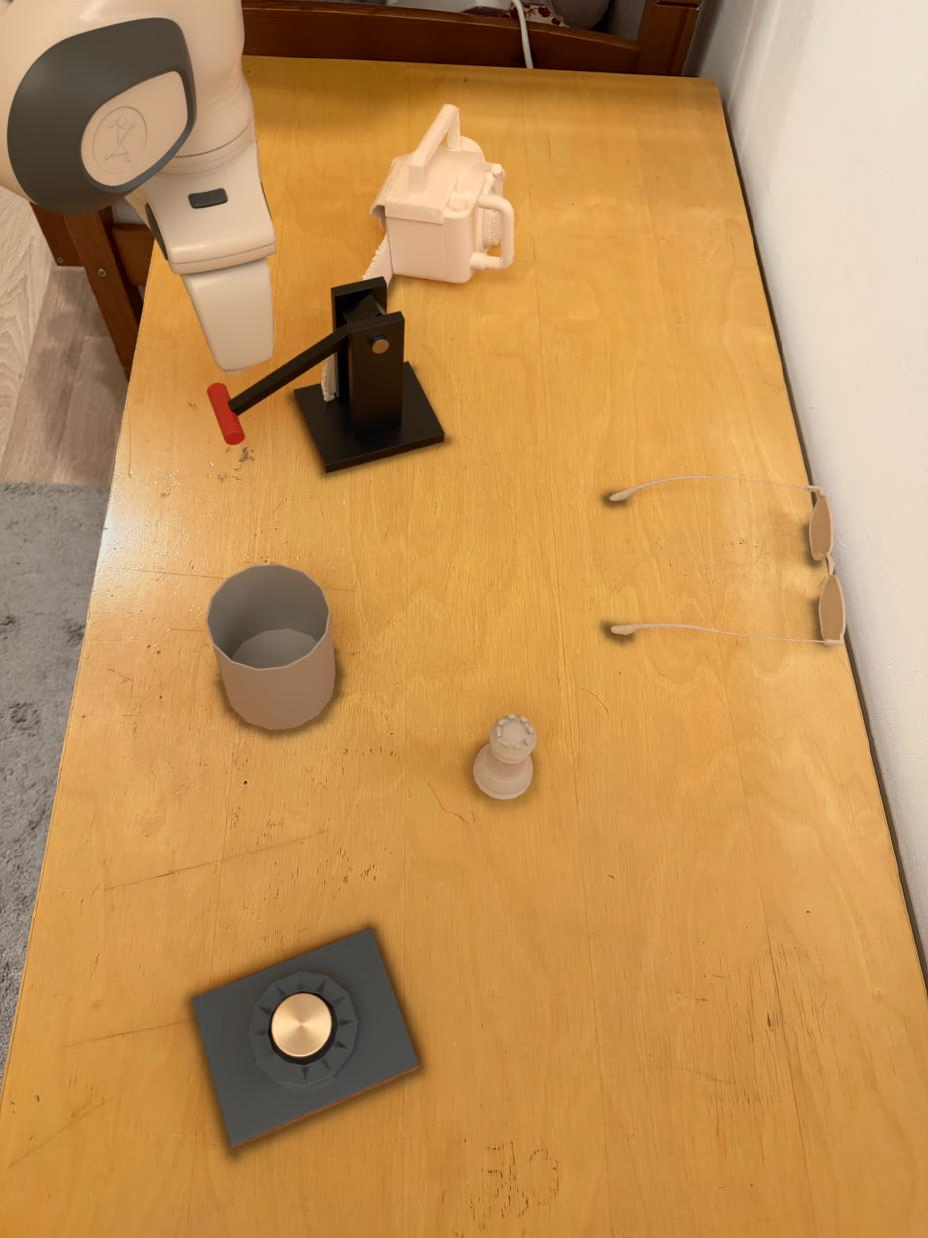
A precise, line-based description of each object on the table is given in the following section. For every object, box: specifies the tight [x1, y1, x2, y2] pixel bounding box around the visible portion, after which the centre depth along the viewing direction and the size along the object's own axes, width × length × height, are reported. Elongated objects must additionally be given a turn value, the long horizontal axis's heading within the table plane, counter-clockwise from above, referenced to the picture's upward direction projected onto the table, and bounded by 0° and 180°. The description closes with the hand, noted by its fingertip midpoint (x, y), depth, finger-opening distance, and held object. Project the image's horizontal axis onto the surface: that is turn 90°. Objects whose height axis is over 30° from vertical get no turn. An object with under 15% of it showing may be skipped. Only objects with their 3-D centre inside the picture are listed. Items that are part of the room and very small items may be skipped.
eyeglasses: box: [608, 475, 847, 647], centre depth 84 cm, size 15×18×4 cm
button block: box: [191, 927, 420, 1149], centre depth 63 cm, size 12×9×4 cm
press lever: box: [206, 293, 386, 446], centre depth 81 cm, size 16×6×2 cm, turn 112°
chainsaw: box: [320, 103, 515, 402], centre depth 93 cm, size 15×35×12 cm, turn 165°
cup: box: [204, 563, 337, 731], centre depth 73 cm, size 8×8×10 cm
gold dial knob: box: [271, 993, 333, 1060], centre depth 61 cm, size 4×4×2 cm
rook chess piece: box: [472, 713, 538, 801], centre depth 72 cm, size 4×4×8 cm
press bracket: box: [293, 276, 446, 474], centre depth 85 cm, size 11×9×14 cm
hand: (217, 320), depth 74 cm, fingers open, 8 cm apart
